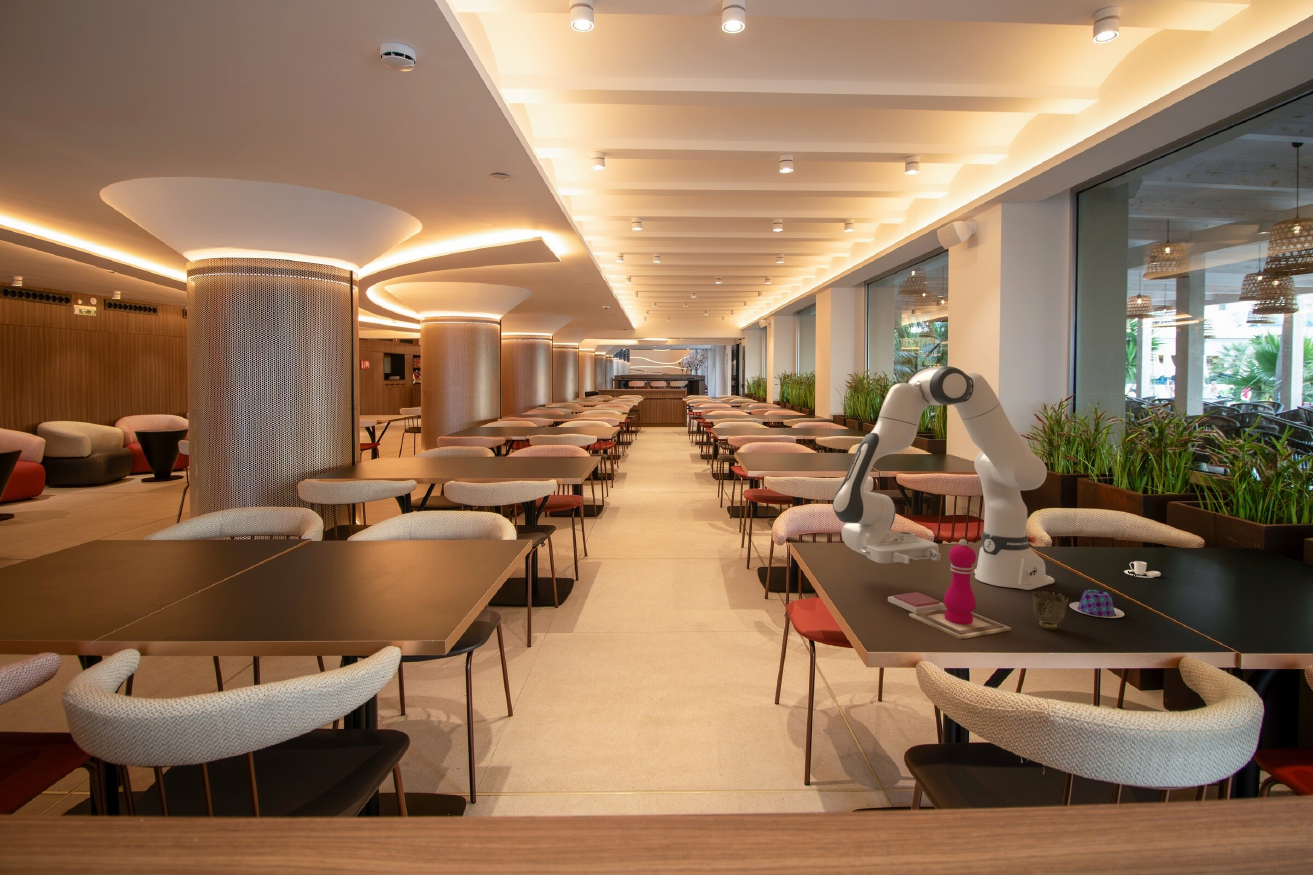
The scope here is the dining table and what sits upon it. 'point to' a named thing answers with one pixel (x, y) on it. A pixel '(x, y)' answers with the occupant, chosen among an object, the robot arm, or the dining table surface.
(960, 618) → the pepper mill
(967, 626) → the board
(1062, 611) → the cup
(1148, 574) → the teacup and saucer
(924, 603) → the ink pad
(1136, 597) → the dining table surface
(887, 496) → the robot arm
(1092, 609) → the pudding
